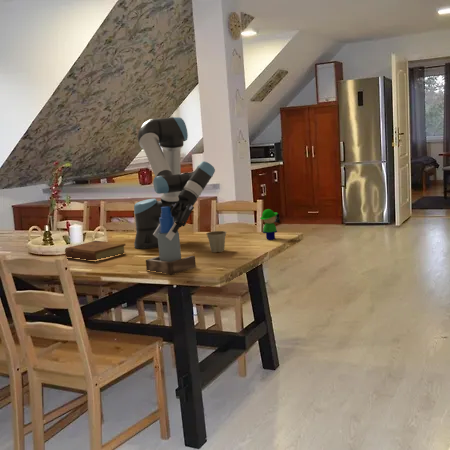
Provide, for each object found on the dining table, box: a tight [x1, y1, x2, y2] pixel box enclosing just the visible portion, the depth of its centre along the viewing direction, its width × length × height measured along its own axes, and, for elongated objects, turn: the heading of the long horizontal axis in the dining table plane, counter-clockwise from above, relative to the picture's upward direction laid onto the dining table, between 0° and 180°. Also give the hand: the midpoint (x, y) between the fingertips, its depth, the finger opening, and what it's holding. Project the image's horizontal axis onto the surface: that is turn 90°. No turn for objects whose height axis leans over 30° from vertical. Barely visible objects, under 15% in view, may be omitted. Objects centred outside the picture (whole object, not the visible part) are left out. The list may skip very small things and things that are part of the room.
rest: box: [145, 255, 197, 276], centre depth 250 cm, size 15×14×5 cm
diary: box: [64, 240, 126, 260], centre depth 291 cm, size 23×19×6 cm
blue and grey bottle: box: [157, 206, 182, 262], centre depth 248 cm, size 9×9×25 cm
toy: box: [260, 208, 281, 241], centre depth 298 cm, size 9×9×15 cm
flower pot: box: [206, 230, 227, 253], centre depth 279 cm, size 9×9×9 cm
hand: (161, 237), depth 246 cm, fingers open, 9 cm apart
